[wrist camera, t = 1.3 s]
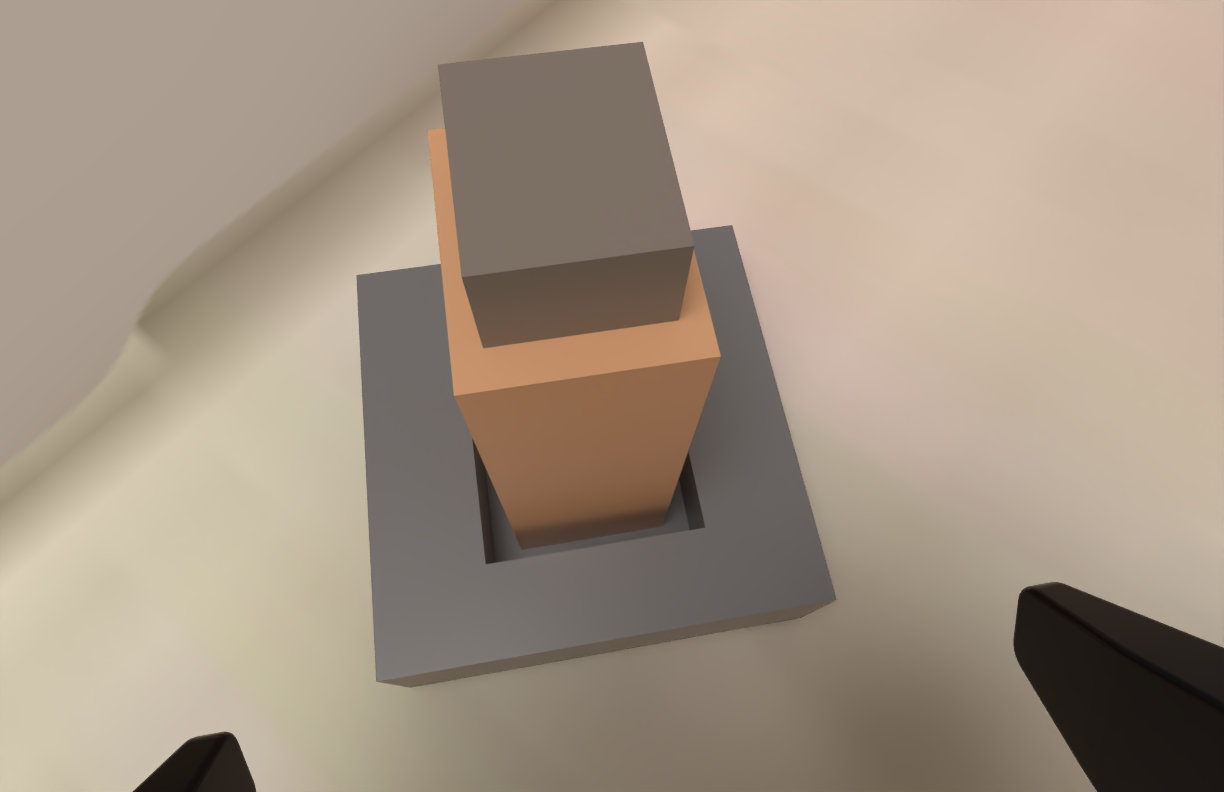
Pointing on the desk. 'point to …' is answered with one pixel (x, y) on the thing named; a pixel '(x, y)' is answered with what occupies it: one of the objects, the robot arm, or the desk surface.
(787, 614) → the socket block
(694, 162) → the desk surface
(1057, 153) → the desk surface
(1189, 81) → the desk surface
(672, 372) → the plug
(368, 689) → the desk surface
